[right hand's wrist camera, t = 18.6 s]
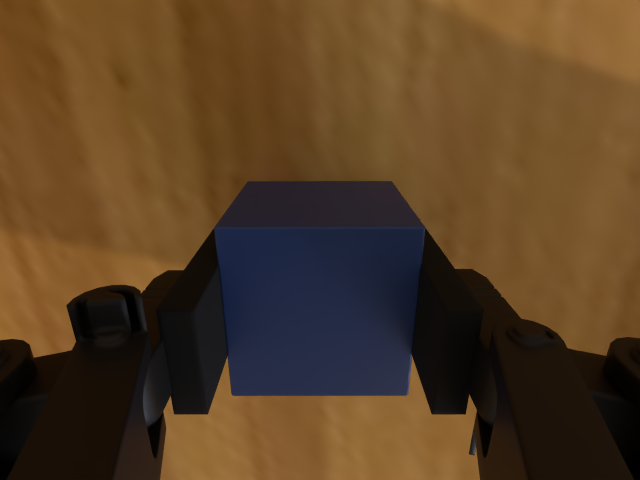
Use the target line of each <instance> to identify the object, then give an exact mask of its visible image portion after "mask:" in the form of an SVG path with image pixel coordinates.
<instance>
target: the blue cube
mask: <svg viewBox="0 0 640 480" xmlns="http://www.w3.org/2000/svg"><path fill="white" fill-rule="evenodd" d="M214 231H215V241H216V250H217V260H218V266H219V276H220V285H221V295H222V305H223V314H224V324H225V334H226V343H227V353H228V365H229V374H230V384H231V393H232V395H233V396H406V395H408V392H409V382H410V372H411V362H412V350H413V340H414V330H415V321H416V311H417V301H418V292H419V282H420V272H421V264H422V256H423V246H424V236H425V226H424V225H423V224H422V222H421V221H420V220H419V218H418V217H417V215H416V214H415V213H414V211H413V210H412V209H411V207H410V206H409V204H408V203H407V202H406V200H405V199H404V198H403V196H402V195H401V194H400V192H399V191H398V189H397V188H396V187H395V185H394V184H393V183H392V182H391V181H280V182H247V183H246V185H245V186H244V188H243V189H242V190H241V192H240V193H239V194H238V196H237V197H236V198H235V200H234V201H233V203H232V204H231V205H230V207H229V208H228V209H227V211H226V212H225V214H224V215H223V216H222V218H221V219H220V220H219V222H218V223H217V225H216V226H215V228H214Z"/></svg>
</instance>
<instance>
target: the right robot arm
mask: <svg viewBox="0 0 640 480" xmlns="http://www.w3.org/2000/svg"><path fill="white" fill-rule="evenodd" d="M66 306H67V309H68V313H69V317H70V320H71V324H72V328H73V331H74V335H75V339H76V343H75V345H74V347H73V349H72V350H71V351H67V352H62V353H57V354H51V355H46V356H41V357H36V358H34V357H33V354H32V351H31V348H30V345H29V344H28V343H26V342H25V341H23V340H16V339H8V340H0V480H160V475H161V467H162V459H163V450H164V442H165V434H166V424H165V418H164V413H163V410H164V408H165V406H166V404H167V402H168V400H169V398H170V396H171V399H172V405H173V411H174V414H208V412H209V409H210V406H211V403H212V400H213V397H214V394H215V391H216V388H217V385H218V382H219V379H220V377H221V374H222V371H223V368H224V365H225V362H226V359H227V356H228V353H227V343H226V334H225V324H224V314H223V305H222V295H221V285H220V276H219V266H218V260H217V250H216V241H215V231H214V229H213V230H212V232H211V233H210V235H209V236H208V237H207V239H206V240H205V242H204V243H203V244H202V246H201V247H200V249H199V250H198V251H197V253H196V254H195V256H194V257H193V258H192V260H191V261H190V262H189V264H188V265H187V267H186V268H185V269H184V270H168V271H166V272H164V273H163V274H161V275H159V276H158V277H156V278H154V279H153V280H152V281H151V283H150V284H149V285H148V286H147V287H146V290H144V291H143V292H142V293H141V292H140V290H138V289H137V288H135V287H133V286H127V285H111V286H105V287H100V288H96V289H93V290H90V291H87V292H85V293H83V294H81V295H79V296H77V297H75V298H74V299H73V300H72V301H71V302H69V303H68V304H67V305H66ZM412 357H413V359H414V362H415V365H416V368H417V371H418V374H419V377H420V380H421V383H422V386H423V389H424V392H425V395H426V398H427V401H428V404H429V407H430V410H431V413H432V414H466V409H467V403H468V398H469V394H470V396H471V398H472V401H473V403H474V405H475V407H476V409H477V413H476V418H475V424H474V429H473V434H472V439H471V445H470V451H469V454H470V455H474V454H475V450H476V449H477V458H478V466H479V474H480V480H640V338H631V337H625V338H617V339H615V340H614V341H613V342H611V343H610V347H609V350H608V353H607V356H603V355H598V354H593V353H587V352H582V351H577V350H572V349H568V348H567V347H566V345H565V343H564V341H563V340H562V338H561V337H560V336H559V335H558V334H557V333H556V332H554V331H553V330H551V329H550V328H548V327H546V326H544V325H541V324H539V323H537V322H534V321H529V320H525V319H521V318H520V317H519V316H518V314H517V313H516V312H515V311H514V310H513V308H512V307H511V306H510V305H509V304H508V303H507V301H506V300H505V299H504V298H503V297H501V294H500V293H499V292H498V291H497V290H496V289H494V286H493V285H492V284H491V282H490V281H489V280H488V279H487V278H486V277H485V276H483V275H481V274H480V273H478V272H476V271H474V270H473V269H455V268H454V267H453V266H452V264H451V263H450V262H449V260H448V259H447V257H446V256H445V255H444V253H443V252H442V250H441V249H440V248H439V246H438V245H437V243H436V242H435V241H434V239H433V238H432V236H431V235H430V234H429V232H428V231H427V230H426V228H425V236H424V246H423V256H422V264H421V272H420V282H419V292H418V301H417V311H416V321H415V330H414V340H413V350H412Z"/></svg>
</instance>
